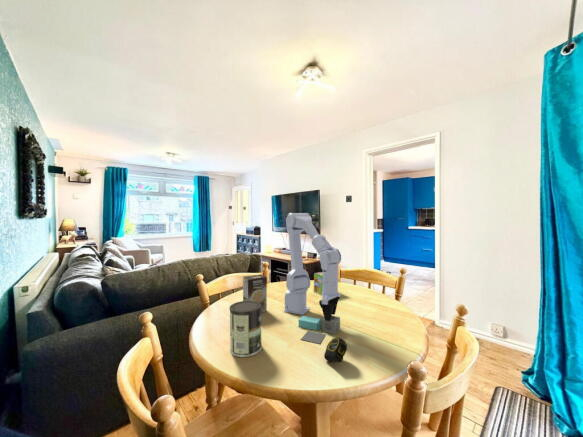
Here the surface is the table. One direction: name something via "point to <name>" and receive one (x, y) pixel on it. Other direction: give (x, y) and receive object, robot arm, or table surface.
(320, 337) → the stub pad
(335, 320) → the dice cube
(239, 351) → the coffee can
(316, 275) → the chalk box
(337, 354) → the tape measure
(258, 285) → the coffee box
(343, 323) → the table surface
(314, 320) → the turquoise box
